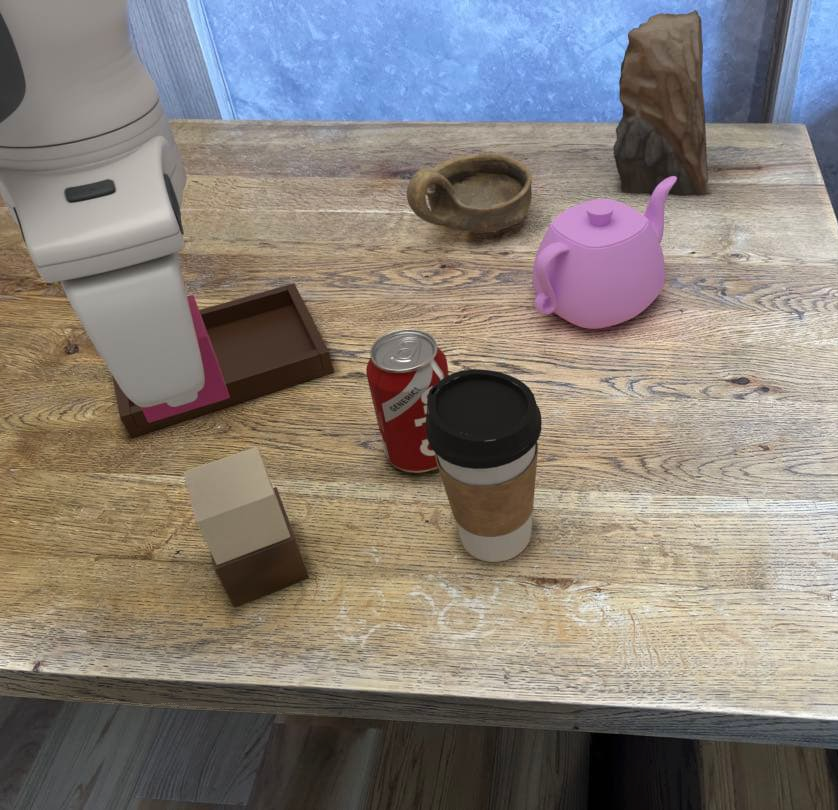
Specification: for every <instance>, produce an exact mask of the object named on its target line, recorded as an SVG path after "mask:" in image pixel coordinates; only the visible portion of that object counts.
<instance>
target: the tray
mask: <svg viewBox="0 0 838 810" xmlns="http://www.w3.org/2000/svg"><path fill="white" fill-rule="evenodd" d="M298 289H299V288H298V287H297V285H296V283H294V282H293V283H290V284H286V285H282V286H279V287H275V288H272V289H268V290H264V291H261V292H257V293H254V294H250V295H247V296H244V297H240V298H236V299H233V300H229V301H225V302H222V303H218V304H215V305H211V306H208V307H205V308H201V309H199V311H200V314H201V316H202V319H203V322H204V325H205V327H206V330H207V333H208V335H209V338H210V341H211V343H212V346H213V349H214V352H215V354H216V357H217V360H218V363H219V366H220V369H221V372H222V375H223V378H224V381H225V384H226V387H227V390H228V393H229V396H230V398H228V399H225V400H222V401H218V402H215V403H212V404H209V405H206V406H202V407H199V408H196V409H193V410H189V411H186V412H183V413H180V414H176V415H173V416H170V417H167V418H164V419H160V420H157V421H154V422H151V423H148V421H147V419H146V417H145V415H144V413H143V411H142V408H141V407H140V406H138V405H136V404H135V403H134V402H132V401H131V400H130V399H129V398H128V397H127V396H126V395H125V393H124V392H123V391H122V389H121V388H120V386H119V385H118V383H117V382H116V380H115V378H114V377H113V375H112V374H111V375H112V376H111V377H112V380H113V387H114V393H115V400H116V404H117V410H118V417H119V418H120V421H121V423H122V424H123V426H124V429H125V430H126V432H127V434H128V436H129V437H130V438H131V439H132V438H135V437H138V436H141V435H145V434H147V433H151V432H154V431H157V430H160V429H163V428H166V427H169V426H172V425H176V424H179V423H181V422H184V421H188V420H191V419H195V418H197V417H200V416H204V415H206V414H210V413H212V412H215V411H218V410H222V409H224V408H225V409H226V408H228V407H231V406H234V405H238V404H241V403H243V402H246V401H251V400H253V399H256V398H259V397H262V396H266V395H269V394H271V393H274V392H278V391H281V390H284V389H287V388H290V387H293V386H297V385H300V384H302V383H306V382H309V381H312V380H314V379H318V378H321V377H324V376H327V375H330V374H333V373H335V369H334V366H333V361H332V357H331V354H330V351H329V349H328V347H327V345H326V343H325V341H324V339H323V336H322V335H321V333H320V331H319V329H318V327H317V325H316V323H315V321H314V319H313V317H312V315H311V313H310V311H309V309H308V308H307V305H306V303H305V301H304V299H303V297H302V295H301V293H300V291H299V290H298Z"/></svg>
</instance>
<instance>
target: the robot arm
mask: <svg viewBox="0 0 838 810" xmlns="http://www.w3.org/2000/svg"><path fill="white" fill-rule="evenodd" d="M129 5H130V4H129V1H128V0H0V196H1V198H2V200H3V202H4V204H5V206H6V208H7V211H8V212H9V214H10V216H11V218H12V219H13V220H14V222H15V223H16V224H17V225H18V227H19V230H20V232H21V237H22V239H23V241H24V244H25V246H26V249H27V251H28V252H27V253H28V255H29V257H30V259H31V261H32V263H33V265H34V267H35V270H36V271H37V272H38V274H39V276H40V278H41V279H42V281H44V282H45V283H47V284H53V283H58V282H60V284H61V286H62V289H63V291H64V293H65V295H66V297H67V299H68V302H69V303H70V305H71V307H72V309H73V311H74V313H75V315H76V316H77V318H78V320H79V322H80V324H81V325H82V327H83V329H84V330H85V332H86V334H87V336H88V338H89V339H90V340H91V342H92V345H94V347H95V349H96V350H97V352H98V355H99V356H100V357H101V360H102V361H103V363H104V364H105V366H106V367H107V369H108V370H109V372H110V374H111V375H113V376H112V378H113V377H114V378H115V380H116V382H117V383H118V385H119V386H120V388H121V389H122V391H123V392H124V393H125V395H126V396H127V397H128V398H129V399H130V400H131V401H132V402H134V403H135V404H136V405H138V406H140V407H151V406H155V405H158V404H162V403H165V402H166V403H167V404H168V405H169V406H171V407H177V406H181V405H184V404H187V403H190V402H193V401H195V400H196V399H197V397H198V394H197V392H198V391H200V390H201V389H202V388H203V387H204V383H205V376H204V369H203V363H202V358H201V353H200V349H199V345H198V340H197V336H196V332H195V328H194V324H193V319H192V315H191V311H190V307H189V303H188V298H187V296H188V294H187V291H186V290H187V289H186V286H185V281H184V277H183V271H182V266H181V262H180V256H179V255H180V254H179V252H182V251H183V250H184V249H185V247H186V242H185V239H184V234H185V231H184V227H183V224H182V223H183V222H182V213H181V208H182V202H183V201H182V200H183V191H184V189H185V187H186V184H187V179H188V178H187V172H186V169H185V167H184V164H183V161H182V157H181V155H180V152H179V149H178V145H177V143H176V140H175V138H174V133H173V130H172V128H171V125H170V122H169V119H168V116H167V113H166V110H165V107H164V105H163V101H162V99H161V96H160V93H159V92H160V91H159V90H158V87H157V85H156V83H155V81H154V79H153V77H152V76H151V74H150V73H149V72H148V70H147V68H146V67H145V66H144V64H143V62H142V60H141V59H140V57H139V55H138V53H137V50H136V47H135V44H134V41H133V36H132V32H131V17H130V16H131V15H130V6H129Z"/></svg>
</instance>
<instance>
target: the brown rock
mask: <svg viewBox="0 0 838 810" xmlns="http://www.w3.org/2000/svg"><path fill="white" fill-rule="evenodd" d="M702 22H703V21H702V17H701V16H700V15H699V11H698V10H696V9H695V10H692V11H690V12H689V13H677V14H674V13H668V12H667V13H662V12H660V13H657V14H654V15H651V16H650V17H648V20H647V21H646V22H642V23H640V24H639V26H638V27H633V28H632V29H631V30H629V31H628V33H627V40H628V44H627V46H626V50H625V51H624V55H623V60H622V62H621V65H620V76H619V82H618V87H619V91H618V92H619V93H618V95H619V102H620V103H621V106H622V117H621V119H620V121H619V122H618V125H617V127H616V128H615V134H616V140H615V142H614V145H613V148H612V149H613V158H614V159H615V166H616V170H617V174H618V176H619V179H620V183H621V188H620V189H621V192H624V193H626V194H627V193H628V194H644V193H645V194H647V193H648V194H650V195H652V194H653V192H654V190H655V188H656V187H657V186H658V184H660V183H661V182H662V181H663V180H665V179H666V178H668V177H671V176H676V177H677V180H676V182H675V184H674V185H673V186H672V188H671V189H670V191H669V193H668V195H669V194H671V195H674V196H675V195H676V196H689V195H697V196H698V195H703V196H704V195H707V189H706V186H707V183H708V181H709V169H708V157H707V156H708V152H707V129H706V109H705V98H704V89H703V65H704V63H703V61H704V60H703V54H704V44H703V27H702V26H703V25H702Z"/></svg>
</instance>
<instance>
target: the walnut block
mask: <svg viewBox="0 0 838 810" xmlns="http://www.w3.org/2000/svg"><path fill="white" fill-rule="evenodd" d="M273 488H274V491H275V494H276V497H277V500H278V502H279V505H280V508H281V511H282V514H283V517H284V520H285V522H286V525H287V528H288V531H289V534H290V538H287V539H285V540H282V541H280V542H277V543H274V544H272V545H269V546H266V547H264V548H261V549H258V550H256V551H253V552H251V553H248V554H245V555H243V556H240V557H237V558H235V559H232V560H230V561H227V562H224V563H222V564H219V565H217V564H216V562H215V560H214V558H213V556H212V554H211V552H210V551H209V554H210V558H211V562H212V566H213V569H214V571H215V574H216V576H217V578H218V580H219V582H220V583H221V586H222V587H223V590H224V592H225V594H226V596H227V597H228V600H229V601H230V603H231V606H232V609H233V608H234V609H235V608H237V607H239V606H240V607H241V606H242V605H246V604H247V603H250V602H252V601H255V600H258V599H260V598H262V597H266V596H268V595H270V594H272V593H275V592H278V591H280V590H282V589H283V590H284V589H285V588H287V587H290V586H293V585H295V584H297V583H300V582H302V581H305V580H307V579H310V575H309V572H308V569H307V566H306V564H305V560H304V558H303V555H302V552H301V550H300V547H299V543H298V541H297V539H296V535H295V532H294V530H293V527H292V525H291V522H290V519H289V516H288V514H287V511H286V509H285V506H284V503H283V501H282V498H281V494H280V492H279V490H278V489H279V488H278V487H277V486H273Z"/></svg>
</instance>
